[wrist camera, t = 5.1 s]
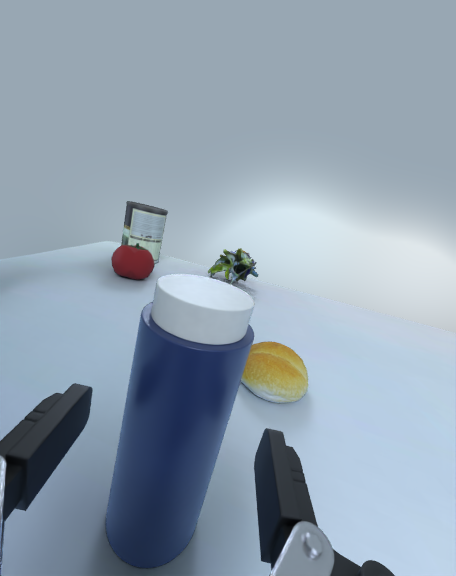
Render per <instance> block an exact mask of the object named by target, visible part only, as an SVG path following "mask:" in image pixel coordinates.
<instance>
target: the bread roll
mask: <svg viewBox="0 0 456 576" xmlns="http://www.w3.org/2000/svg"><path fill="white" fill-rule="evenodd" d="M241 382H242V383H243V384H244V385H245V386H246V387H247V388H248V389H249V390H251V391H252V392H253V393H254V394H255V395H257V396H258V397H260V398H262V399H265V400H268V401H271V402H276V403H288V402H295V401H298V400H300V399H301V398H302V397H303V396H304V395H305V393H306V392H307V389H308V375H307V370H306V367H305V365H304V363H303V360H302V359H301V358H300V357H299V356H298V355H297V354H296V353H295V352H294V351H293V350H292V349H290V348H289V347H287V346H285V345H282V344H280V343H276V342H261V343H258V344H254V345H252V346H251V349H250V353H249V356H248V359H247V362H246V365H245V369H244V372H243V375H242V378H241Z"/></svg>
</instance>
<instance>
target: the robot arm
mask: <svg viewBox="0 0 456 576" xmlns="http://www.w3.org/2000/svg"><path fill="white" fill-rule="evenodd" d="M91 398H92V387H89V386H84V385H80V384H76V383H75V384H73V385H71V386H70V387H69V389H68V390H67V391H66V392H65V393H64V394H60V393H55V394H53V395H52V396H50V397H48V398H46V399H44V400H43V401H42V402H41V403H40V404H39V405H38V406H36V407H35V408H34V409H33V411H31V412H30V413H29V414H28V415H27V416H26V417H25V419H24V420H22V421H21V422H20V423H19V424H18V425H17V426H16V427H15V428H14V429H13V430H11V431H10V432H9V433H8V434H7V435H6V436H5V437H4V438H3V439H2V440H1V441H0V576H1V569H2V555H3V540H4V526H5V520H6V519H7V518H8V516H9V515H10V514H11V512H12V511H13V510H14V508H15V509H20V510H25V511H26V509H27V508H28V507H29V505H30V504H31V502H32V501H33V500H34V498H35V497H36V495H37V494H38V492H39V491H40V490H41V488H42V487H43V485H44V484H45V483H46V481H47V480H48V478H49V477H50V476H51V474H52V473H53V471H54V470H55V469H56V467H57V466H58V464H59V463H60V462H61V460H62V459H63V457H64V456H65V454H66V453H67V452H68V450H69V449H70V447H71V446H72V445H73V443H74V442H75V440H76V439H77V438H78V436H79V435H80V433H81V432H82V430H83V429H84V427H85V425H86V423H87V421H88V418H89V413H90V405H91ZM254 471H255V485H256V498H257V511H258V525H259V538H260V551H261V561H263V562H267V563H271V570H272V571H271V573H270V575H269V576H395V575H394V574H393V573H392V572H391V571H390V570H389V569H387V568H386V567H385V566H384V565H382V564H380V563H379V562H376V561H372V560H368V561H366V562H365V563H363V565H362V567H360V566H358V565H357V564H355V563H353V562H352V561H350V560H348V559H347V558H345V557H343V556H342V555H340V554H339V553H337V552H336V551H335V550H334V549H333V548H332V546H331V544H330V542H329V540H328V538H327V537H326V535H325V534H324V533H323V531H322V530H321V529H320V528H318V525H317V522H316V518H315V515H314V511H313V507H312V503H311V500H310V496H309V492H308V488H307V484H306V483H305V477H304V473H303V469H302V466H301V462H300V458H299V457H298V455H297V454H296V452H295V450H294V449H293V447H289V446H286V444H285V439H284V435H283V432H281V431H277V430H272V429H268V428H266V429H265V430H264V433H263V436H262V438H261V441H260V444H259V447H258V450H257V452H256V456H255V463H254Z"/></svg>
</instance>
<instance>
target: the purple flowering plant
mask: <svg viewBox="0 0 456 576" xmlns="http://www.w3.org/2000/svg"><path fill="white" fill-rule="evenodd" d="M235 252H236V251H235ZM235 252H232V251H231V252H229V251H227V250H226V249H224V254H225V255H226V256H223V255H220V257H221V258H220V259H218V260H217V261H216V263H215V265H213V267H212V268H210V269H209V271H208V273H210V272H211V276H212V275H214V274H215V273H217V272H221V271H226V272H225V277H226V279H227V280H228V277H229V273H231V272H232V276H231V278H232V281H231V283H232V282H233V281H234V280H236V281H238V280H239V279H242V280H244V281H245V280H246V278H247V275H249V274H252V275H253V276H255V277H258V274H257V273H256V272H255V271H254V269H256V267H255V264H256V262H255V263H254V261H253V259H251V257H250V256H249V253H246V252H245V251H243V250H242V249H238V250H237V252H236V253H235ZM231 283H230V284H231Z"/></svg>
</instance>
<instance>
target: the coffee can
mask: <svg viewBox="0 0 456 576" xmlns="http://www.w3.org/2000/svg"><path fill="white" fill-rule="evenodd" d="M167 213H168V211H166V210H164V209H160V208H156V207H153V206H149V205H145V204H140V203H136V202H130V201H127V207H126V215H125V222H124V229H123V237H122V244H121V246H122V245H136V243H139V246H141V247H143V248H145V249H147V250H148V251H149V252H150V253H151V254H152V256H153V259H154V263H157V262H158V261H159V254H160V248H161V243H162V238H163V232H164V226H165V221H166V215H167Z"/></svg>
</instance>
